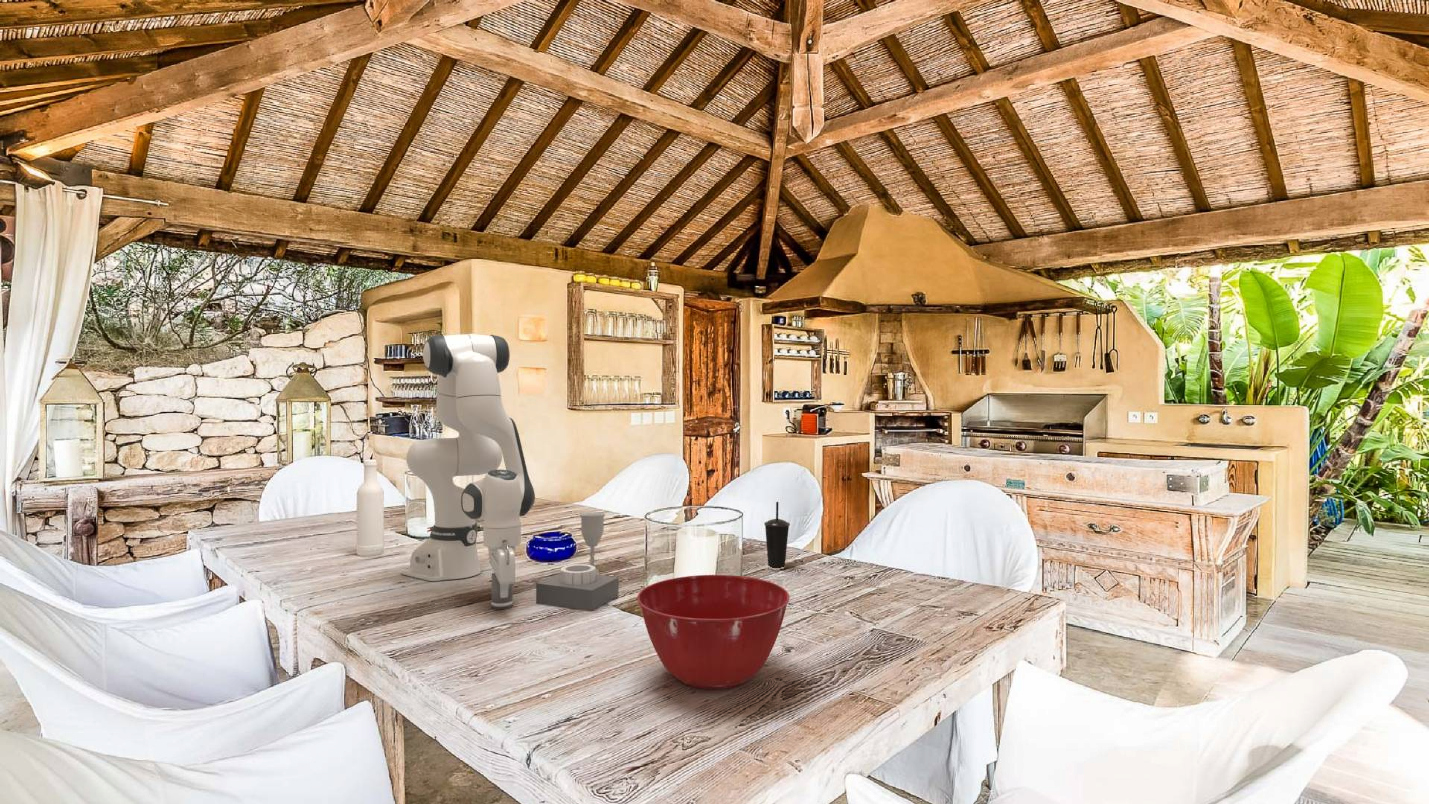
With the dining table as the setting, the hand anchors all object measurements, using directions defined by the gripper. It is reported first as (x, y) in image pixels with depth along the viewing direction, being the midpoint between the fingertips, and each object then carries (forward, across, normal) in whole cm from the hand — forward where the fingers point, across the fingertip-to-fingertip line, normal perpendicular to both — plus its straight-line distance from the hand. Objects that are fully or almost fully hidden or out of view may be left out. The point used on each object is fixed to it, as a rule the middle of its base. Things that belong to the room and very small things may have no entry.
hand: (502, 593), depth 176 cm
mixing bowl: (+3, -58, -31) cm, 66 cm away
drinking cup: (+3, +8, -81) cm, 81 cm away
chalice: (+3, +18, -27) cm, 33 cm away
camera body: (+3, -2, -18) cm, 19 cm away
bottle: (+4, +73, +32) cm, 80 cm away
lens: (+3, 0, 0) cm, 3 cm away
